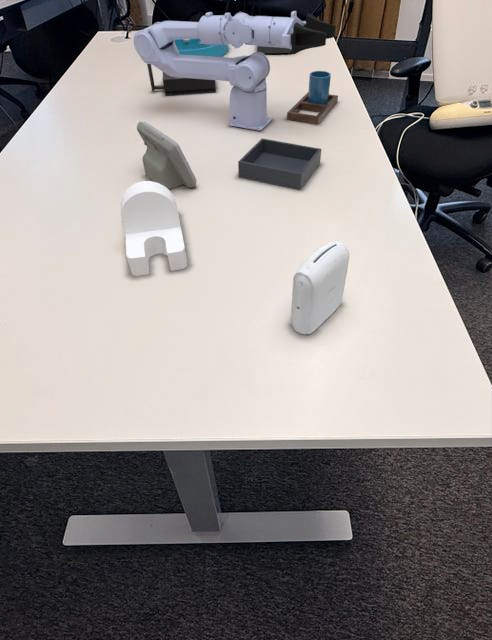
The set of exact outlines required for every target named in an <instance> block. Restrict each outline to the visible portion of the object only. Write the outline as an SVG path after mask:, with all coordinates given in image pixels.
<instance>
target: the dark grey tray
mask: <svg viewBox="0 0 492 640" xmlns="http://www.w3.org/2000/svg"><path fill="white" fill-rule="evenodd" d="M321 158H322V148H318V147H313V146H308V145H303V144H302V145H301V144H297V143H290V142H284V141H279V140H273V139H269V138H261V139H260V140H259V141H257V142H256V144H254V145H253V146H252V147H251V148H250V149H249V151H247V152H246V153H245V154H244V155H243V156H242V157H241V158H240V159H239V160H238V161H237V165H238V166H237V167H238V178H240V179H241V178H242V179H246V180H251V181H255V182H261V183H265V184H271V185H275V186H279V187H284V188H289V189H294V190H299V191H301V190H302V189H303V188H304V186H305V185H306V183H307V182H308V181H309V180H310V178H311V177H312V175H313V174H314V173H315V172H316V171H317V169H318V168H319V166H320V165H321Z"/></svg>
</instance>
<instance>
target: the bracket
mask: <svg viewBox="0 0 492 640" xmlns="http://www.w3.org/2000/svg"><path fill="white" fill-rule="evenodd" d="M120 199H121V200H120V219H121V224H122V228H123V231H124V234H125V236H124V237H125V255H126V259H127V263H128V266H129V269H130V273H131V275H132V276H135V277H140V276H148V275H150V263H149V260H150V259H151V258H152V257H153V256H155V255H165V256H167V260H168V264H169V270H170V272H173V271H179V270H184V269H186V268H187V267H188V259H187V252H186V247H185V242H184V237H183V232H182V226H181V220H180V215H179V209H178V204H177V200H176V198H175V196H174V194H173V192H172V191H171V189H169V190H168V189H167V188H166V187H165V186H163V185H161V184H159V183H156V182H153V181H152V180H143V181H139V182H135V183H133V184H132V185H130V186H128V187H127V189H126V190H125V191H124V192H123V194H122V196H121V198H120Z"/></svg>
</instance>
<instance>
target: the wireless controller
mask: <svg viewBox="0 0 492 640" xmlns="http://www.w3.org/2000/svg"><path fill="white" fill-rule="evenodd" d="M143 29H145V28H144V24H141V30H143ZM146 65H147V66H146V67H147V72H148V77H149V82H150V88H151V91H152V92H155V91H158V90H163V91H164V96H165V97H168V96H169V97H171V96H186V95H187V96H188V95H199V94H201V95H202V94H211V93H212V94H214V93H217V87H216V86H217V85H216V80H207V79H194V78H182V77H171V76H169V75H167V74H166V73H164V72H163V71H162V83H163V84H158V85H155V80H154V73H153V68H152V65H151V64H147V63H146Z"/></svg>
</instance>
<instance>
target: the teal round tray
mask: <svg viewBox="0 0 492 640" xmlns="http://www.w3.org/2000/svg"><path fill="white" fill-rule="evenodd" d="M174 42H175V44H176V46H177V49H178V51H179V54H181V55H197V56H213V57H224V56H225V55H226V54H227V53H228V51H229V46H228V45H229V44H228V45H205V44H204V43H203V42H202V41H201V40H200V39H181V40H174Z"/></svg>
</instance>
